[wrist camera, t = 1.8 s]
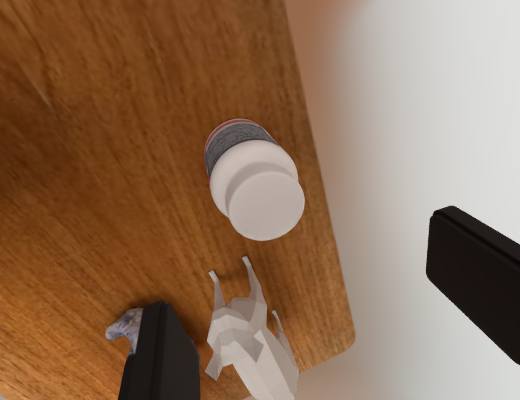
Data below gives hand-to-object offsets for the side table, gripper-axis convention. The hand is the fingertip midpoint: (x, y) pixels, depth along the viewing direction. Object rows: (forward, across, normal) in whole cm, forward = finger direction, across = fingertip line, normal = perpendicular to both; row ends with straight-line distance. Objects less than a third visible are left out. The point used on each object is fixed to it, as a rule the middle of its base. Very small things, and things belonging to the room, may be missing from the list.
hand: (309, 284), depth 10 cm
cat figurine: (+14, +3, +15) cm, 21 cm away
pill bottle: (+14, 0, 0) cm, 14 cm away
